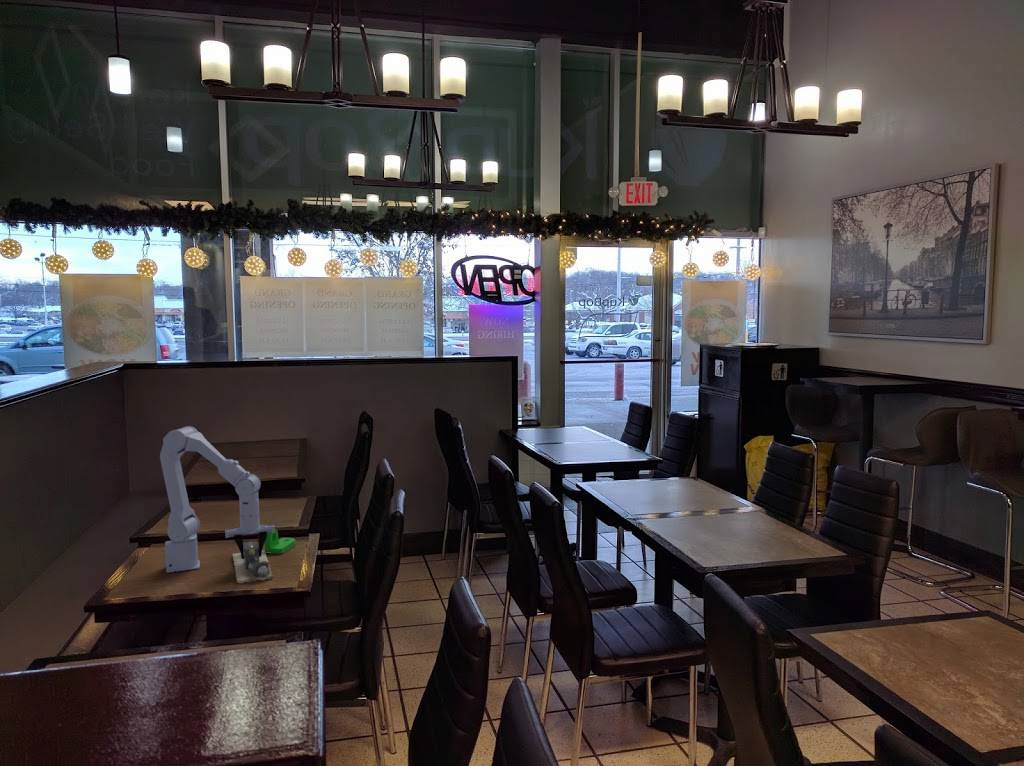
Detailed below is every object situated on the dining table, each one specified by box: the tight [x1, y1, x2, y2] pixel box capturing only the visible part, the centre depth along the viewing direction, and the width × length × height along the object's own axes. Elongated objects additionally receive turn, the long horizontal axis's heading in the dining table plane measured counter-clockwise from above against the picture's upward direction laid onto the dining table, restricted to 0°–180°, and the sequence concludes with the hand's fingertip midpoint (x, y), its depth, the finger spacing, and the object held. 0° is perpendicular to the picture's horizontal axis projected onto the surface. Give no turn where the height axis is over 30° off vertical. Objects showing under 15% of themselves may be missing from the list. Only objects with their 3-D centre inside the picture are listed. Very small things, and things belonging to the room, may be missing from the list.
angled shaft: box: [248, 561, 270, 577], centre depth 224 cm, size 8×4×4 cm, turn 43°
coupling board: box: [232, 549, 274, 584], centre depth 233 cm, size 10×28×1 cm, turn 23°
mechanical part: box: [264, 528, 296, 554], centre depth 251 cm, size 12×6×8 cm, turn 169°
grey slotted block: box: [243, 541, 259, 569], centre depth 232 cm, size 4×9×6 cm, turn 23°
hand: (251, 557), depth 233 cm, fingers open, 4 cm apart
